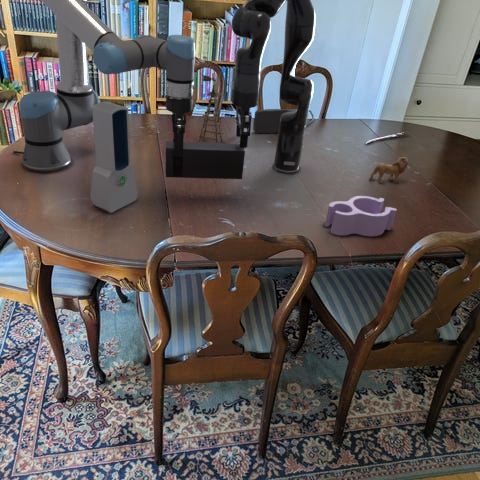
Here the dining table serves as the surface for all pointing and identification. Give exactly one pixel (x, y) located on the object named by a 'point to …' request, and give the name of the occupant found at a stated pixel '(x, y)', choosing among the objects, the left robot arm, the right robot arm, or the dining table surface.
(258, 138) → the dining table surface
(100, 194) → the electronic device
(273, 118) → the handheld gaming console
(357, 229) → the clip
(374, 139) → the sword
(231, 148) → the bar
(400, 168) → the lion figurine
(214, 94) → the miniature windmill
